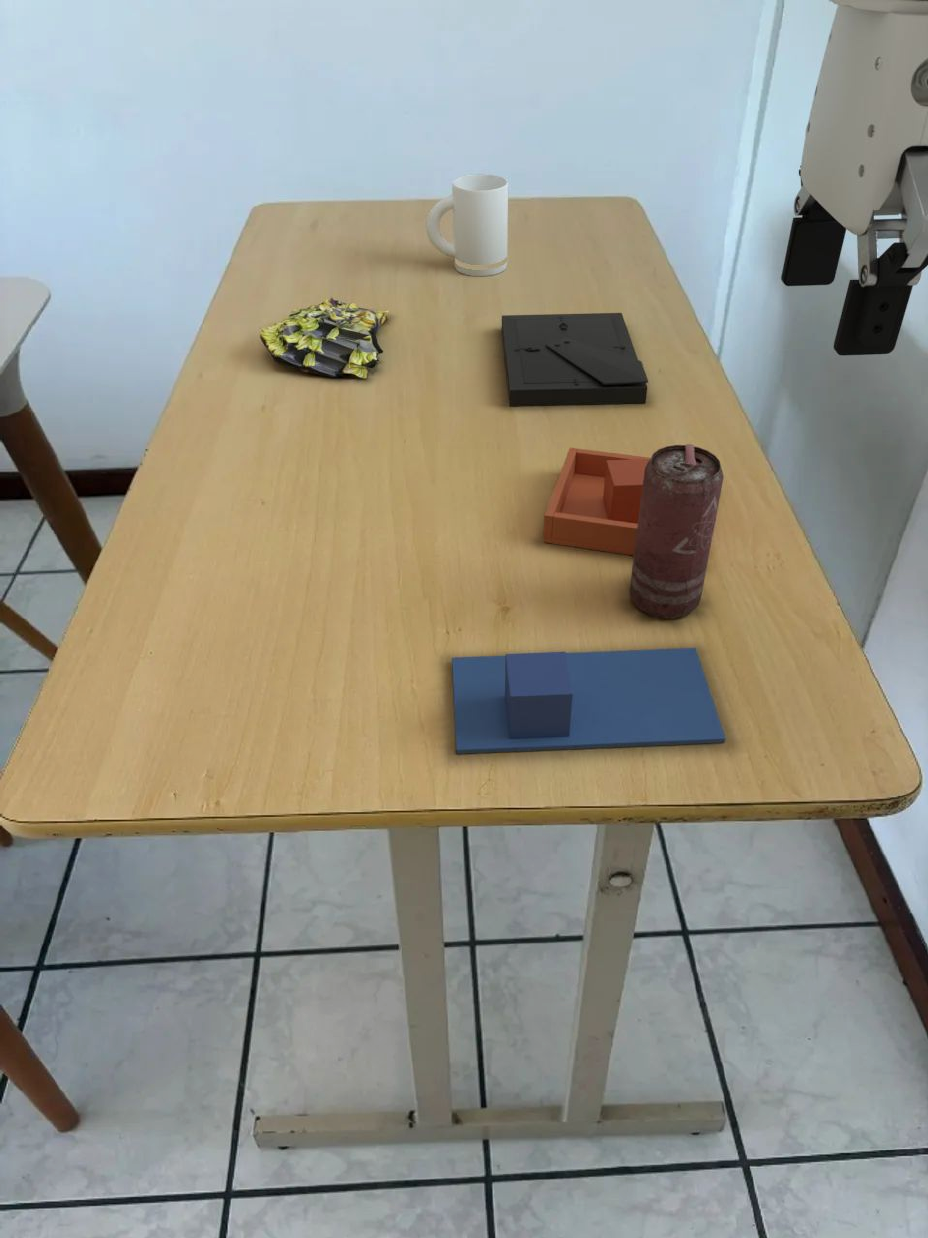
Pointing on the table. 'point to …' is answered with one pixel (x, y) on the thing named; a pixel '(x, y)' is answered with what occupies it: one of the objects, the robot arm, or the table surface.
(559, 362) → the picture frame
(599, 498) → the terracotta tray
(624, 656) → the blue mat
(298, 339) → the banana patterned fabric
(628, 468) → the terracotta block
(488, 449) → the table surface
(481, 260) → the mug
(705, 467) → the can
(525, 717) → the blue block
